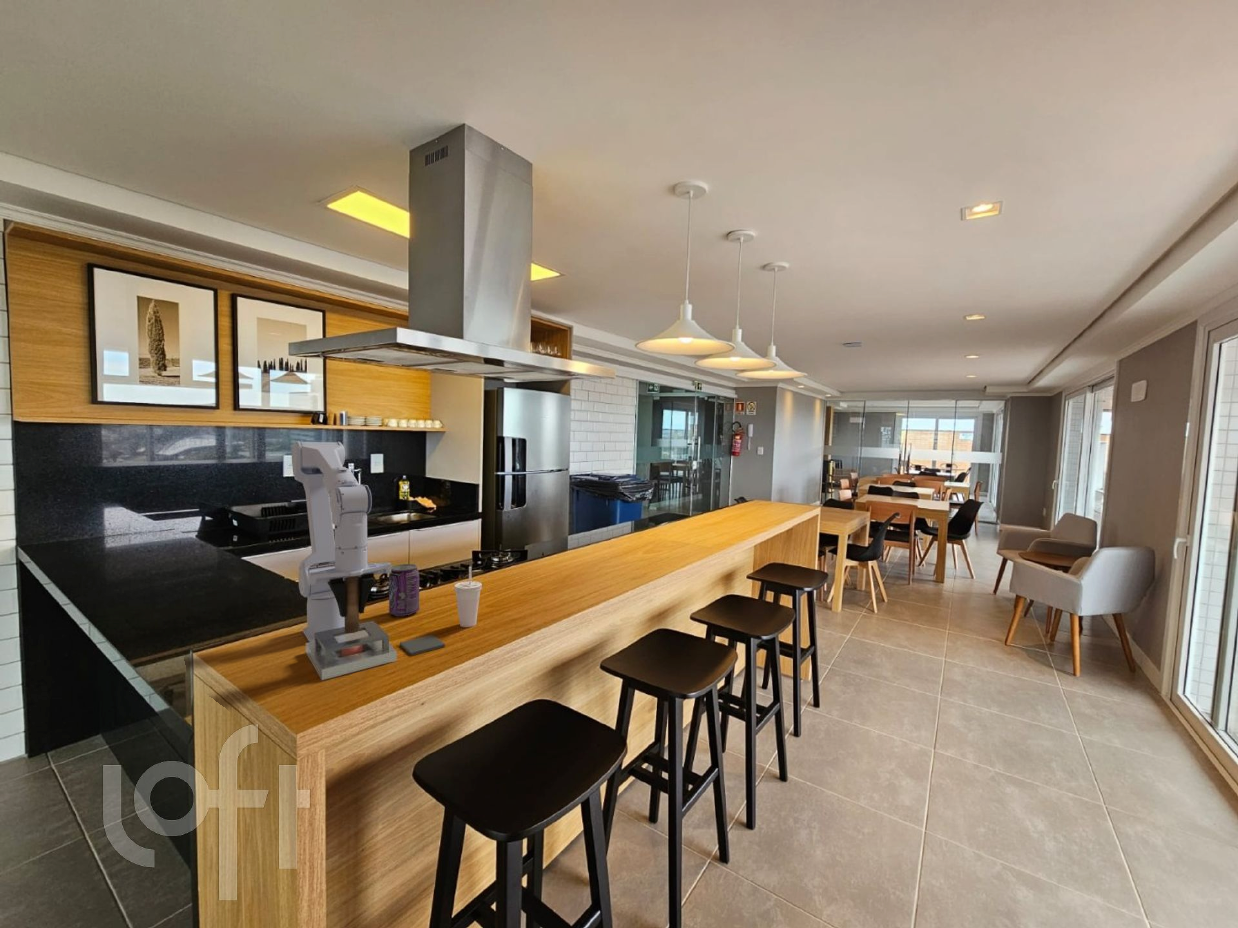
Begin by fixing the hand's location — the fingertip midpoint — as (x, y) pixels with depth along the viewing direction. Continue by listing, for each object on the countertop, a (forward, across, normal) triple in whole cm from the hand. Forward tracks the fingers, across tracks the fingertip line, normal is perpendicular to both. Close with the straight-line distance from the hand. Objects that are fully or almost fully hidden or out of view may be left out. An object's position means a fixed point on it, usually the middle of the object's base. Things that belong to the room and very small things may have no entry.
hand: (351, 613), depth 99 cm
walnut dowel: (+3, 0, 0) cm, 3 cm away
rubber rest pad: (+9, +13, -3) cm, 16 cm away
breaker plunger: (+9, 0, 0) cm, 9 cm away
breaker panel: (+9, 0, +1) cm, 9 cm away
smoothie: (+9, +26, +3) cm, 28 cm away
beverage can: (+10, +17, +21) cm, 29 cm away
